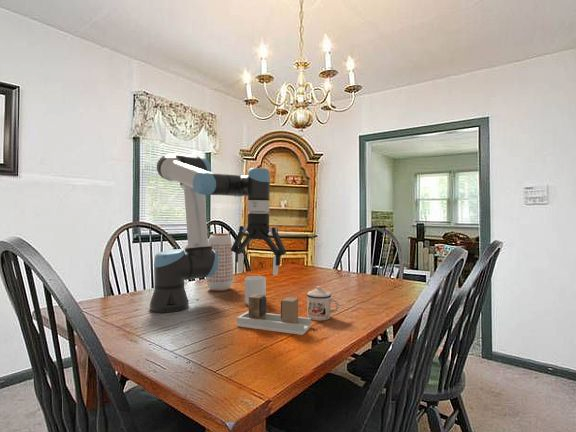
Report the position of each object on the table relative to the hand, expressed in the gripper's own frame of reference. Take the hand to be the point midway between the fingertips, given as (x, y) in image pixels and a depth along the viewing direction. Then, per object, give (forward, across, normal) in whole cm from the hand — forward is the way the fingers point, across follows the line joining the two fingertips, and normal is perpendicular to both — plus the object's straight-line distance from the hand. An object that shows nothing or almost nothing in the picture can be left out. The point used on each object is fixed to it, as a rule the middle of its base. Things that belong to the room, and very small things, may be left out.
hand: (257, 273), depth 125 cm
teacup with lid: (+18, +20, +16) cm, 31 cm away
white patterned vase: (+19, -41, +43) cm, 62 cm away
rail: (+18, +7, 0) cm, 19 cm away
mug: (+18, -12, +26) cm, 34 cm away
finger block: (+17, 0, 0) cm, 17 cm away
